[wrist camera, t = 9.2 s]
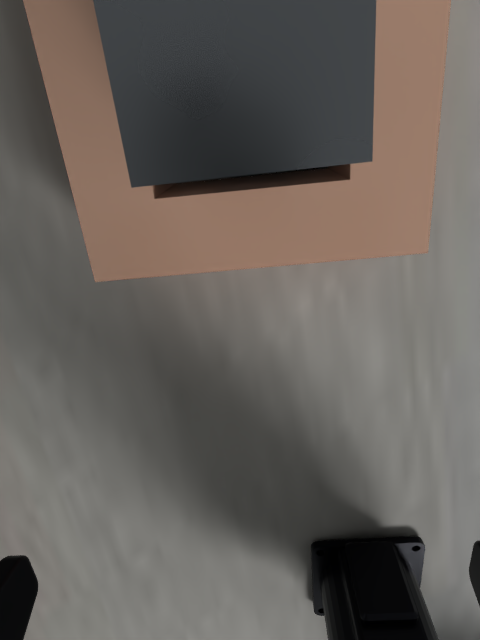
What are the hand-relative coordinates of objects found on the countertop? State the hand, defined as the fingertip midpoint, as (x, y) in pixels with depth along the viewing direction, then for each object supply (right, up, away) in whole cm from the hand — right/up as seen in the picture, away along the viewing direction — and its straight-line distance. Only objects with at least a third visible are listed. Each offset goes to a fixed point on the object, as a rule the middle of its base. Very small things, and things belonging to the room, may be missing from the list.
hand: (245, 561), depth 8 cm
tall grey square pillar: (0, +13, +7) cm, 15 cm away
